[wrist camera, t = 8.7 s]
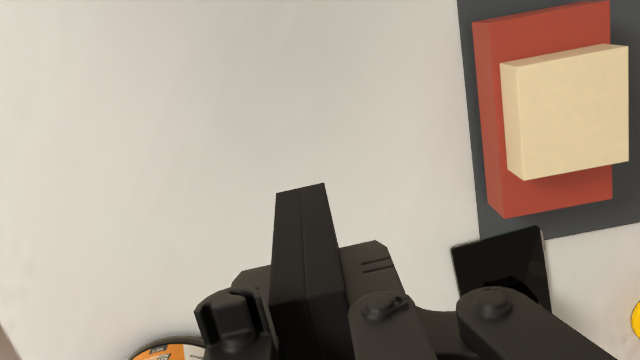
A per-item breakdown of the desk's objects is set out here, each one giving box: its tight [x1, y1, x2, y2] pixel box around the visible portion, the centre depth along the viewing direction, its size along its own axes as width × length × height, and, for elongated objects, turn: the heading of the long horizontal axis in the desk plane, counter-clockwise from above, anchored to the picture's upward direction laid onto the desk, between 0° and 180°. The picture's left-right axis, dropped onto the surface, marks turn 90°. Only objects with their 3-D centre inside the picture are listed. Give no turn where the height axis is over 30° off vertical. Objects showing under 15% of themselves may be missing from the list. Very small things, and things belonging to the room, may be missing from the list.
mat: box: [457, 0, 640, 240], centre depth 39 cm, size 20×16×1 cm
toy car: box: [472, 0, 629, 219], centre depth 36 cm, size 13×7×8 cm
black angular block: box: [450, 225, 552, 313], centre depth 42 cm, size 12×7×5 cm, turn 15°
